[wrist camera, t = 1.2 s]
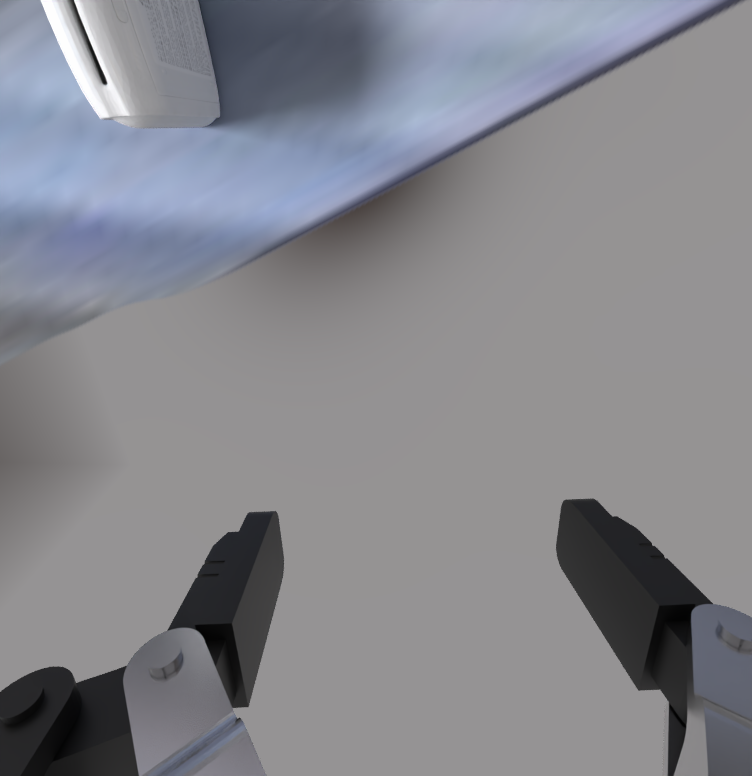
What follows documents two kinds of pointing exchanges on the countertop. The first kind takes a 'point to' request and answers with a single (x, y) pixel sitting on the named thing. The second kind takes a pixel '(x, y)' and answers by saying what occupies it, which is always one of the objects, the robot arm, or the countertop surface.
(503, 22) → the countertop surface
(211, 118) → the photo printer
